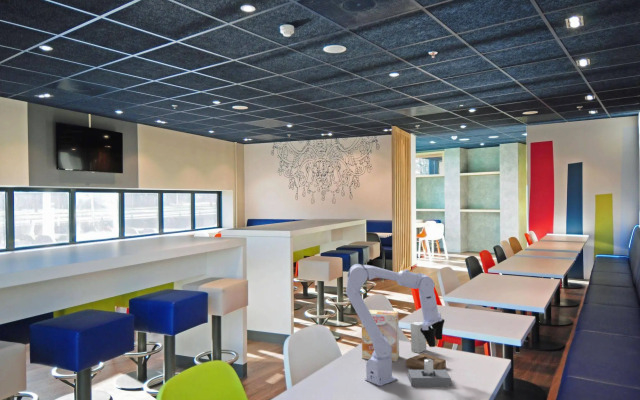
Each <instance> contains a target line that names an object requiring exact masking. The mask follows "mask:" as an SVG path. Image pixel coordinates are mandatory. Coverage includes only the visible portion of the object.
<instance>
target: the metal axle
mask: <svg viewBox="0 0 640 400" xmlns="http://www.w3.org/2000/svg"><path fill="white" fill-rule="evenodd" d="M424 375H425V376H433V360H432V359H424Z"/></svg>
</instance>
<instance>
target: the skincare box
mask: <svg viewBox="0 0 640 400" xmlns="http://www.w3.org/2000/svg"><path fill="white" fill-rule="evenodd" d="M422 324H423V321H415V322H411V323H410V350H411V351H412V352H415V353H418V354H421V352H424V351H427V340H426V338H425V337H424V335H423V334H422V333H421V331H420V329H421V328H422Z"/></svg>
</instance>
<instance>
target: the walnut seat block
mask: <svg viewBox="0 0 640 400" xmlns="http://www.w3.org/2000/svg"><path fill="white" fill-rule="evenodd" d="M424 359H432V360H433V370H444V369H446V368H447V360H446V359H443V358H441V357H438V356H435V355H431V354H428V353H425V352H423V353H419V354H418V355H415V356H412V357H409V358H406V359H405V362H406V363H405V365H406V366H405V367H406V368H408V369H410V370H424Z"/></svg>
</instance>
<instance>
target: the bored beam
mask: <svg viewBox="0 0 640 400" xmlns="http://www.w3.org/2000/svg"><path fill="white" fill-rule="evenodd" d="M407 371H408V375H407V376H408V380H409V383H410V386H411V387H451V386H452V383H451V382H452V378H451V376H450V374H449V373H448V371H447V369H441V370H433V376H425V375H424V370H414V369H407Z"/></svg>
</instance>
